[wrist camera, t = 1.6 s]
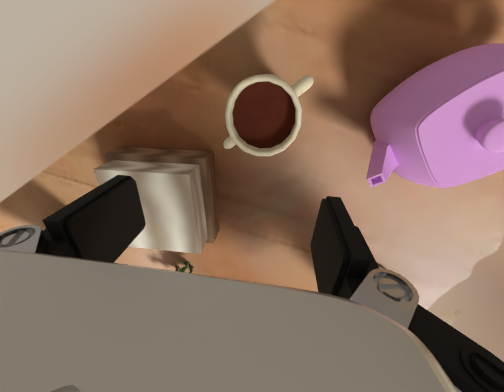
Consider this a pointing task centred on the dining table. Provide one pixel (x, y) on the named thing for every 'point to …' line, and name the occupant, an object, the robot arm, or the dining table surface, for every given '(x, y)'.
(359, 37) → the dining table surface
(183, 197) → the grey stacked block
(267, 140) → the character mug
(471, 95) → the teapot
